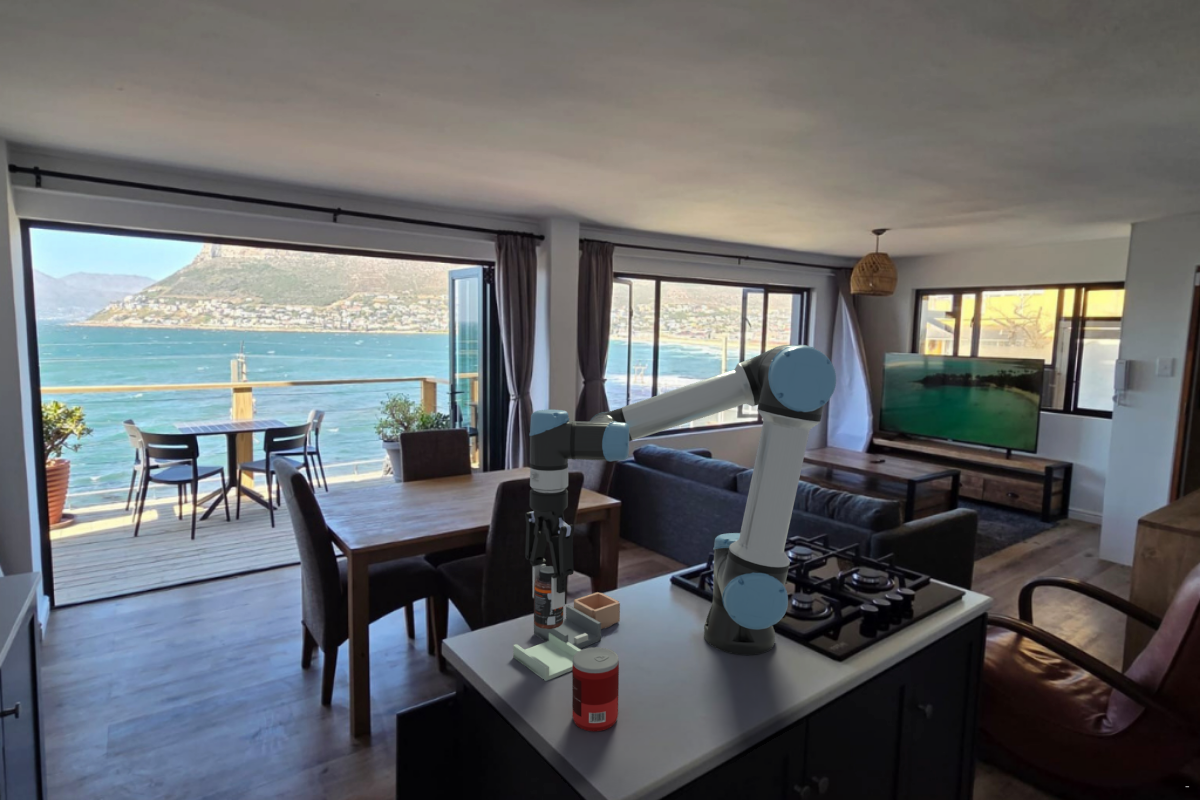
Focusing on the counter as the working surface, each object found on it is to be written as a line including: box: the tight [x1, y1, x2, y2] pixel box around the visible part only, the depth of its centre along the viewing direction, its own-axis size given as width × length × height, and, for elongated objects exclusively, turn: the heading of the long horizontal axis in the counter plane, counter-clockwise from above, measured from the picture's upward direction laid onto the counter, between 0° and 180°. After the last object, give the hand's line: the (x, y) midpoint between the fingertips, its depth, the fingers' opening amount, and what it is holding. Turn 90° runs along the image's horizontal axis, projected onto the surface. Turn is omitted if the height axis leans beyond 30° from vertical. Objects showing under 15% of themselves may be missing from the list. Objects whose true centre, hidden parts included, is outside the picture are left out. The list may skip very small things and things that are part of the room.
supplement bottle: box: [533, 565, 564, 629], centre depth 126 cm, size 6×6×11 cm
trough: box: [512, 633, 582, 682], centre depth 127 cm, size 12×10×3 cm
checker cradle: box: [533, 604, 602, 650], centre depth 138 cm, size 12×10×4 cm
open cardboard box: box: [573, 591, 621, 630], centre depth 146 cm, size 8×8×5 cm
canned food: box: [571, 647, 620, 732], centre depth 108 cm, size 8×8×11 cm
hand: (548, 601), depth 126 cm, fingers closed on supplement bottle, 6 cm apart
